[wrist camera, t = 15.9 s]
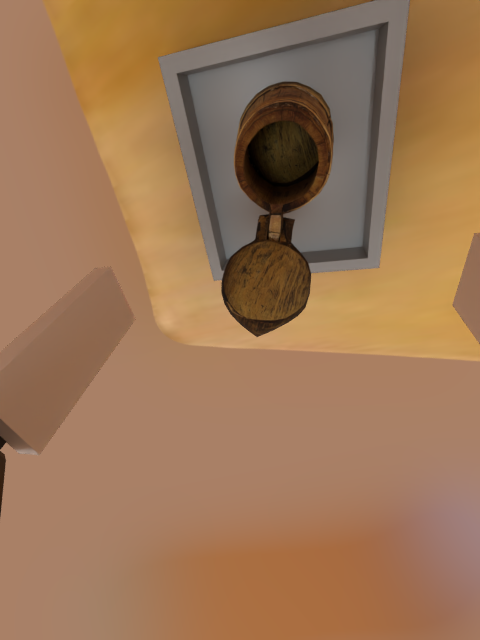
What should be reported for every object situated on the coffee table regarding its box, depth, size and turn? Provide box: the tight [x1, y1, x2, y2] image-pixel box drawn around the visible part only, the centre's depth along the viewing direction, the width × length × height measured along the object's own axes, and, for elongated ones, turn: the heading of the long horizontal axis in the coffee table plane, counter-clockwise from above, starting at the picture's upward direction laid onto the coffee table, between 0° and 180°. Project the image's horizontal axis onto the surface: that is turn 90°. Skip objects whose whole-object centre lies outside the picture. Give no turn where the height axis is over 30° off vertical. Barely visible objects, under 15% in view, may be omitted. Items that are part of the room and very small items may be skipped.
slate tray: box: [158, 0, 410, 281], centre depth 28 cm, size 20×18×4 cm
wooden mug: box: [222, 82, 334, 337], centre depth 22 cm, size 9×14×18 cm, turn 177°
